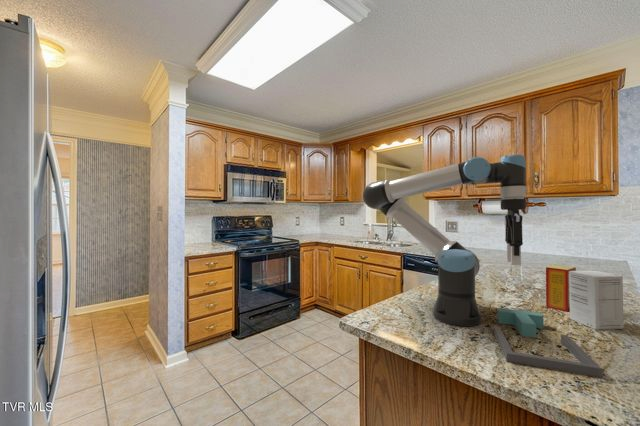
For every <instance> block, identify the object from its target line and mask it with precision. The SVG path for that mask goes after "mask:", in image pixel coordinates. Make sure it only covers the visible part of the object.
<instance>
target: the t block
mask: <svg viewBox="0 0 640 426" xmlns="http://www.w3.org/2000/svg"><path fill="white" fill-rule="evenodd" d="M496 309H497V313H496V314H497V316H496V317H497V321H498V323H499V324H503V325H513V326H515V328H516V329H517V331H518V333H519V334H520V336H521V337H526V338H527V337H528V338H533V339H536V338H537V329H544V328H545V327H544V326H545V325H544V320H545V319H544V315H543V314H542V313H541V312H537V311H531V310H529V311H528V310H518V309H513V308H512V309H509V308H501V307H497V308H496Z"/></svg>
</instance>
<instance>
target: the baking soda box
mask: <svg viewBox="0 0 640 426" xmlns="http://www.w3.org/2000/svg"><path fill="white" fill-rule="evenodd" d="M569 271H577V267H576V266H569V265H561V264H560V265H559V264H553V265H551V264H550V265H548V266H546V267H545V296H546V297H545V307H546V308H548V309H552V310H557V311H562V312H566V313H570V288H569Z"/></svg>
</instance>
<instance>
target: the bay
mask: <svg viewBox="0 0 640 426" xmlns="http://www.w3.org/2000/svg"><path fill="white" fill-rule="evenodd" d="M493 334H494V336H495V338H496V340H497V342H498V345H499V347H500V350H501V351H502V355H504V358H505V361H506V362H507V363H509V362H510V363H515V364H520V365H524V366H525V365H526V366H531V367H536V368H537V367H538V368H542V369H543V368H544V369H549V370H555V371H561V372H567V373H571V374H572V373H574V374H579V375H585V376H590V377H595V378H601V379H602V378H603V368H602V367H601V366H600V365H599V364H598V363H597V362H596V361H595V360H593V359H592V358H591V357H590V355H589V354H588V353H587V352H586V351H584V350H583V348H581V347H580V346H579V345H578V344H577V343H576V342H575V341H574V340H573V339H572V338H571V337H570V336H569V335H567V334H560V342H561V343H562V345H564V347H566V349H567V350H568V351H569V352H570V353H571V354H572V355H573V357H575V359H577V361H573V360H572V361H571V360H568V359H561V358H555V357H548V356H543V355H542V356H541V355H535V354H529V353H523V352H517V351H513V350H512V348H511V346H510V344H509V342H508V340H507V338H506V336H505V335H504V332H503V331H502V328H501V327H500V326H498V325H493ZM578 361H579V362H578Z"/></svg>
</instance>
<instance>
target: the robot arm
mask: <svg viewBox="0 0 640 426" xmlns="http://www.w3.org/2000/svg"><path fill="white" fill-rule="evenodd" d="M526 176H527V165H526V156H525V155H523V154H509V155H508V154H507V155H503V156H501V157H500V159H499V162H491V163H490V162H489V161H488V160H487V159H485V158H484V157H480V156H474V157H471V158H469V159H468V160H467V161H463V162H460V163H456V164H451V165H447V166H444V167H440V168H437V169H436V168H435V169H432V170H427V171H424V172H419V173H417V174H413V175H409V176H405V177H401V178H398V179H393V180H390V179H389V178H386V179H384V180H378V181H375V182H371V183H369V184H368V185H366V186H365V188H364V189H363V192H362V200H363V202H364V204H365V205H366V206H367V207H369V208H371V209H374V210H378V211H380V212H381V214H383V215H385V217H386V218H392V219H394V220H395V221H396V222H397V223H398V224H399V225H400V226H401V227H403V229H405V230H406V231H407V232H408V233H409V234H410V235H411V236H413V237H414V239H416V240H417V241H418V242H419V243H420V244H421V245H422V246H423V247H424V248H425V249H427V250H428V251H429V252H430V253H431V254H432V255H433V256H434V259H435V260H434V261H435V263H437V275H438V277H437V278H438V282H437V283H438V284H437V285H438V286H437V287H438V294H437V296H436V300H435V303H434V306H433V310H432V311H433V313H432V315H433V318H434V319H436V320H438V321H440V322H443V323H445V324H448V325H453V326H458V327H474V326H478V325H480V324H481V323H482V313H481V311H480V309H479V308H480V307H479V306H478V303H477V300H476V276H477V275H478V273H479V271H480V260H479V258H478V256H477V255H476V253H474V252H473V251H471V250H470V249H467V248H465V246H463V245H462V244H461V243H459V242H458V241H456V240H450V239H449V238H447V237H446V236H445V235H444V234H443V233H442V232H440V230H438V229H437V228H436V227H435V226H433V225H432V224H431V223H430V222H429V221H428V220H426V218H424V217H423V216H421V214H419V212H417V210H415V209H414V208H413V207H411V206H410V205H409V204H408V203H407V202H406V201H407V199H406V198H407V197H412V196H415V195H420V194H426V193H430V192H434V191H438V190H442V189H447V188H451V187H452V188H453V187H456V186H460V185H467V186H468V185H469V186H470V185H474V186H476V185H486V184H500V190H499V191H500V194H499V195H500V199H501V200H500V210H502V211H507V212H506V213H507V214H505V216H504V220H505V221H504V222H505V227H504V228H505V238H504V239H505V242H506V262H507V263H510V265H512V266H521V265H522V246H523V245H524V244H523V243H524V242H523V218H524V217H523V215H521V214H520V210H522V211H524V210H526V209H527V200H526V199H525V198H527V192H528V191H529V190H528V188H527V187H526V186H527V177H526Z"/></svg>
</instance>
